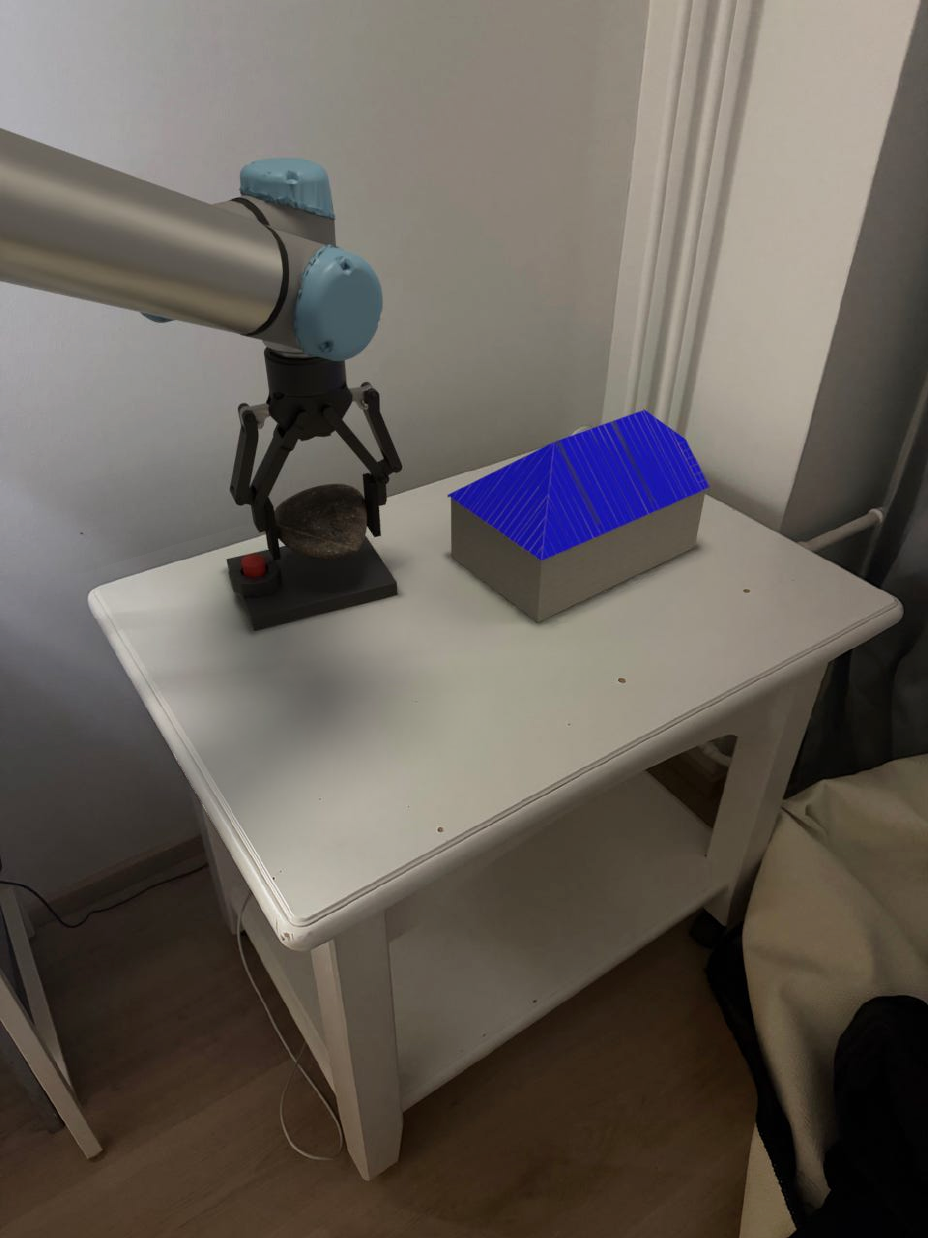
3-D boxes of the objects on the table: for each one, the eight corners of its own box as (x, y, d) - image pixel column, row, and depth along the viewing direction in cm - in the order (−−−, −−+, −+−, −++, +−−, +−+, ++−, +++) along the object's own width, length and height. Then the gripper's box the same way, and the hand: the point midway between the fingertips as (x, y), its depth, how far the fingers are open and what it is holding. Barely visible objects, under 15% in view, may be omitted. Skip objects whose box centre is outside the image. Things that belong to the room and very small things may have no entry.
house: (603, 492, 116) (617, 376, 106) (698, 547, 105) (722, 425, 96) (447, 555, 104) (446, 432, 94) (536, 624, 94) (545, 494, 84)
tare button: (246, 580, 94) (244, 568, 93) (241, 569, 96) (239, 557, 95) (268, 575, 95) (266, 563, 94) (263, 563, 97) (261, 552, 96)
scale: (247, 633, 92) (242, 606, 90) (222, 572, 101) (217, 546, 99) (397, 594, 98) (396, 568, 96) (361, 540, 106) (359, 515, 104)
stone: (399, 547, 97) (397, 507, 94) (317, 585, 91) (312, 544, 88) (339, 507, 104) (335, 468, 101) (259, 540, 98) (252, 501, 95)
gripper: (186, 378, 77) (227, 585, 91) (432, 339, 85) (435, 535, 98) (171, 348, 82) (211, 548, 96) (403, 314, 90) (410, 503, 104)
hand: (324, 541), depth 97 cm, fingers closed on stone, 10 cm apart
